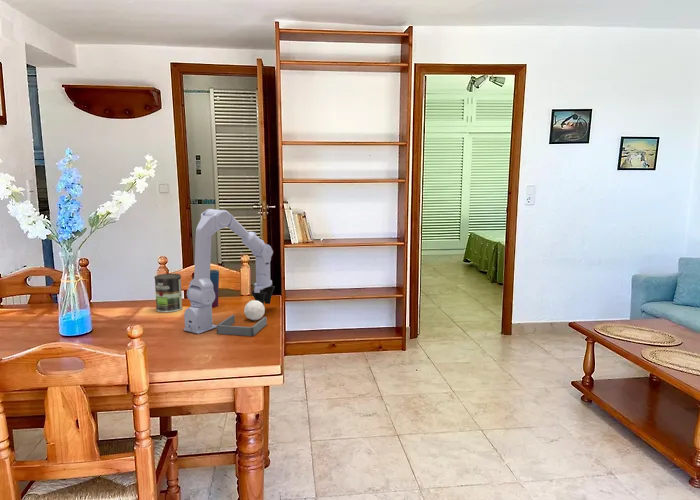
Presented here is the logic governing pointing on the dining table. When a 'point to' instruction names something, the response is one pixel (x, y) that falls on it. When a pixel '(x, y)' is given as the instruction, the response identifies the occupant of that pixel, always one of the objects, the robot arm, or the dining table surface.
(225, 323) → the tray
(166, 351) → the dining table surface
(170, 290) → the coffee can
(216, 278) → the cup
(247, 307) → the geometric ball
